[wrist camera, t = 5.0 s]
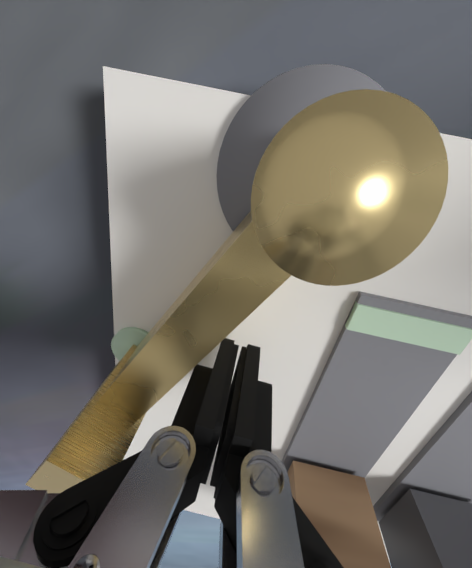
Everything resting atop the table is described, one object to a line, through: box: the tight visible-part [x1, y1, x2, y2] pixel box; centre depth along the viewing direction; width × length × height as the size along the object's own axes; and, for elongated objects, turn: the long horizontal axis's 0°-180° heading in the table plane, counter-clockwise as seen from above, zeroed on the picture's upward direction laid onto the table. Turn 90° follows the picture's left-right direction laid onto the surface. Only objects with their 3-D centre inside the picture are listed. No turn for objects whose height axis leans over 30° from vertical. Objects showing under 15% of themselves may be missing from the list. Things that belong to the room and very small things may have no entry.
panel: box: [103, 64, 472, 561], centre depth 14 cm, size 27×22×2 cm
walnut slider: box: [287, 461, 391, 568], centre depth 13 cm, size 4×4×5 cm
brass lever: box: [26, 89, 448, 493], centre depth 8 cm, size 14×3×5 cm, turn 141°
